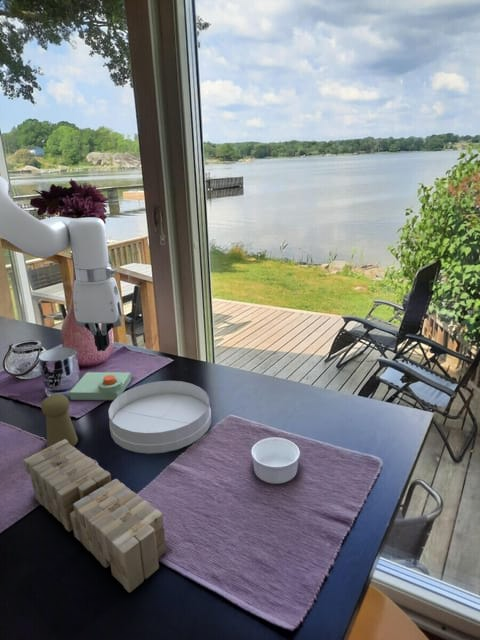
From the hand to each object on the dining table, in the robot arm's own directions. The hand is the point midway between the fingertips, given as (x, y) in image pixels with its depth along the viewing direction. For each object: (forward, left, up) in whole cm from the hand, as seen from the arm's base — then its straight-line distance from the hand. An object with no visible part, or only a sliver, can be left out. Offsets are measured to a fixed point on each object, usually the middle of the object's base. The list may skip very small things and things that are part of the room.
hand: (103, 348), depth 105 cm
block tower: (+12, -41, -13) cm, 45 cm away
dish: (+16, -12, -13) cm, 24 cm away
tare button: (0, 0, -9) cm, 9 cm away
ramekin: (+41, -27, -13) cm, 51 cm away
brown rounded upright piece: (-3, -20, -13) cm, 24 cm away
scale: (-3, +3, -13) cm, 14 cm away
